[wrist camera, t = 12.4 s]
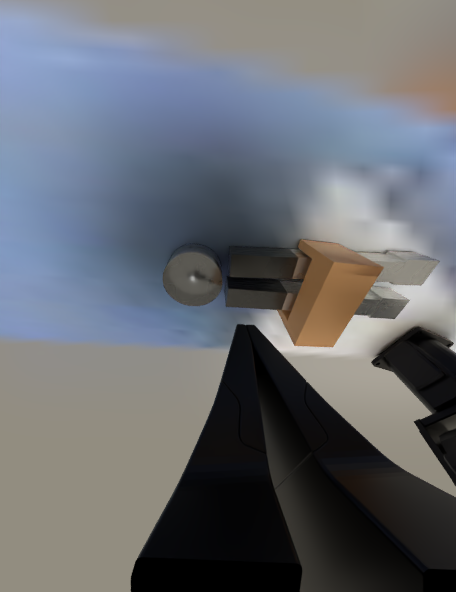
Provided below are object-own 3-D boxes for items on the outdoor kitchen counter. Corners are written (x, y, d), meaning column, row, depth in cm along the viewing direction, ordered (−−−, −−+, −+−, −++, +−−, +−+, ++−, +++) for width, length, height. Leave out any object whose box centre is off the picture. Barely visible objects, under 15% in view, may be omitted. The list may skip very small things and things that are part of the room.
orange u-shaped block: (276, 309, 16) (294, 345, 13) (300, 239, 13) (333, 262, 9) (307, 311, 17) (332, 347, 13) (338, 243, 13) (384, 267, 10)
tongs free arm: (227, 268, 14) (229, 279, 12) (229, 243, 13) (231, 251, 11) (401, 274, 15) (421, 285, 14) (416, 252, 14) (439, 260, 13)
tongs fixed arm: (170, 290, 15) (164, 306, 13) (168, 240, 13) (160, 251, 11) (377, 305, 17) (396, 320, 16) (405, 265, 15) (432, 277, 13)
